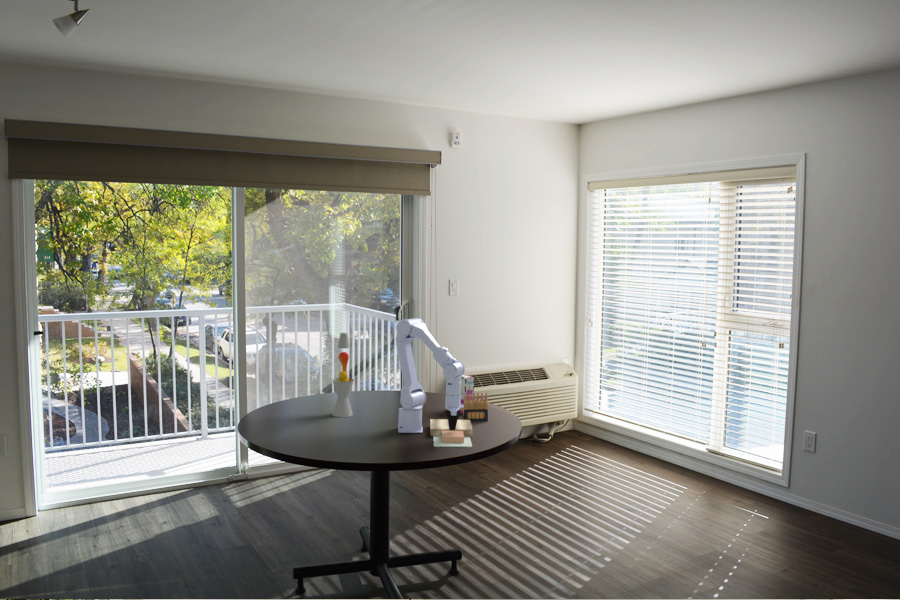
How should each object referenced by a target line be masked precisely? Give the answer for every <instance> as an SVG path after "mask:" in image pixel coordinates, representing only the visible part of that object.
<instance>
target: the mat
mask: <svg viewBox="0 0 900 600" xmlns="http://www.w3.org/2000/svg"><path fill="white" fill-rule="evenodd" d="M432 440H433V442H434V443H433V447H434V448H473V443H472V441H471V437H464V443H442V436H433V437H432Z"/></svg>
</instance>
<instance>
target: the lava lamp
mask: <svg viewBox="0 0 900 600" xmlns="http://www.w3.org/2000/svg"><path fill="white" fill-rule="evenodd" d="M337 348H338V349H349V348H350V341H349V334H348V332H340V334H339V340H338V345H337ZM349 358H350V356H349V353H347V352H345V351H342V352H340V353H339V354H338V360H339V362H340V364H341V367H342V368H341V369H342V371H340V372H339V373H338V377H337V378H336V377H335V378H333V379H332V382H333V387H334V389H335V392H336V396H337V399H336V402H335V405H334V408H333V410H332V416H333V417H335V418H348V417H351V416H352V417H353V415H354V414H353V410H352V406H351V403H350V400H349V395H350V393H351V391H352V388H353V385H354V382H355V379H353V378H350V377H348V372H347V371H348V370H347V368H348V362H349Z"/></svg>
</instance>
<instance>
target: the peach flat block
mask: <svg viewBox="0 0 900 600" xmlns="http://www.w3.org/2000/svg"><path fill="white" fill-rule="evenodd" d="M442 443H464V434H463V431H442Z"/></svg>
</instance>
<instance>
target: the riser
mask: <svg viewBox="0 0 900 600" xmlns="http://www.w3.org/2000/svg"><path fill="white" fill-rule="evenodd" d="M429 420H430V423H429V433H430V435H431V436H442V431H463V434H464V437H470V438H473V433H474V432H473V426H472V421H470V420H462V419H458V420H457V424H456V428H455V430H449V424H448V418H447V419H446V418H445V419H442V418H441V419H440V418H438V419H437V418H435V419H433V418H430V419H429ZM431 436H430V437H431Z"/></svg>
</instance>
